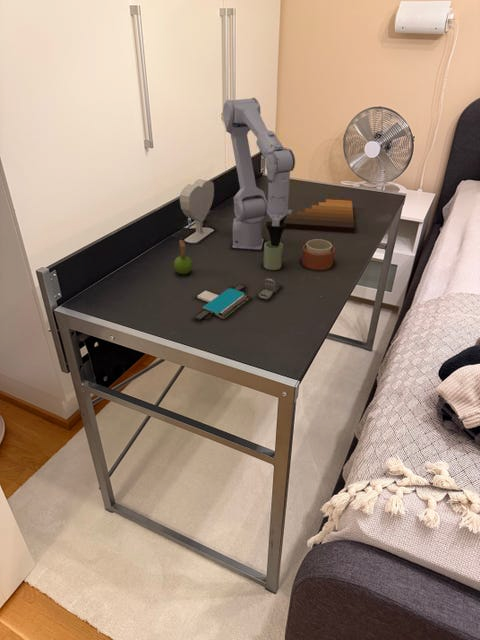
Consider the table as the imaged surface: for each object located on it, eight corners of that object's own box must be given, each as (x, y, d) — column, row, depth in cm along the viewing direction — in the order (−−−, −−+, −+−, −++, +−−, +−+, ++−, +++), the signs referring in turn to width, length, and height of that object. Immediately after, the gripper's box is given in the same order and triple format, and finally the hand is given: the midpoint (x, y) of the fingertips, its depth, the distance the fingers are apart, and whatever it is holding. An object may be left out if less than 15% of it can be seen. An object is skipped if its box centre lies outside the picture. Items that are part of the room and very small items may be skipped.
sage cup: (262, 269, 142) (263, 248, 138) (264, 261, 147) (265, 240, 143) (280, 270, 141) (282, 249, 138) (282, 262, 146) (283, 241, 142)
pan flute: (281, 228, 168) (353, 233, 164) (282, 219, 166) (354, 224, 162) (286, 203, 188) (350, 207, 185) (287, 195, 186) (351, 199, 183)
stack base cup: (301, 269, 142) (302, 254, 140) (302, 254, 150) (303, 240, 147) (333, 271, 141) (335, 256, 138) (332, 256, 149) (334, 242, 146)
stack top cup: (304, 267, 143) (306, 249, 140) (305, 256, 149) (306, 238, 146) (329, 269, 142) (332, 250, 139) (329, 258, 148) (331, 239, 145)
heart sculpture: (204, 225, 169) (202, 175, 159) (217, 228, 167) (215, 177, 157) (180, 241, 158) (176, 189, 148) (193, 244, 156) (190, 191, 146)
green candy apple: (176, 280, 136) (173, 242, 130) (173, 270, 142) (170, 232, 135) (195, 277, 138) (192, 239, 131) (191, 267, 143) (188, 230, 136)
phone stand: (222, 280, 136) (222, 275, 135) (257, 292, 131) (257, 287, 130) (177, 311, 122) (177, 306, 122) (214, 326, 117) (214, 321, 116)
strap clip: (267, 301, 127) (268, 287, 125) (257, 298, 128) (258, 284, 126) (281, 287, 133) (281, 274, 131) (271, 284, 135) (272, 271, 132)
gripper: (291, 204, 126) (288, 251, 133) (293, 187, 138) (290, 230, 145) (265, 203, 126) (263, 249, 134) (269, 186, 138) (267, 229, 146)
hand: (276, 239), depth 140 cm, fingers open, 7 cm apart
